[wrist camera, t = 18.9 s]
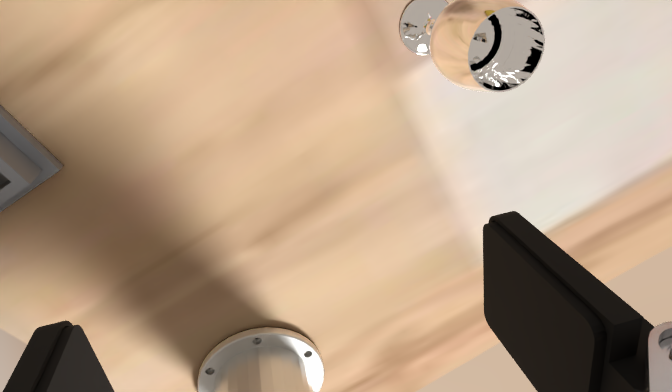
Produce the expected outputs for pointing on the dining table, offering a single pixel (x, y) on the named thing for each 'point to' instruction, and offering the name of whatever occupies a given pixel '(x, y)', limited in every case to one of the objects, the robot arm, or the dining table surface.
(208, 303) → the dining table surface
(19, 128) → the divided grey tray
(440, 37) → the wineglass
